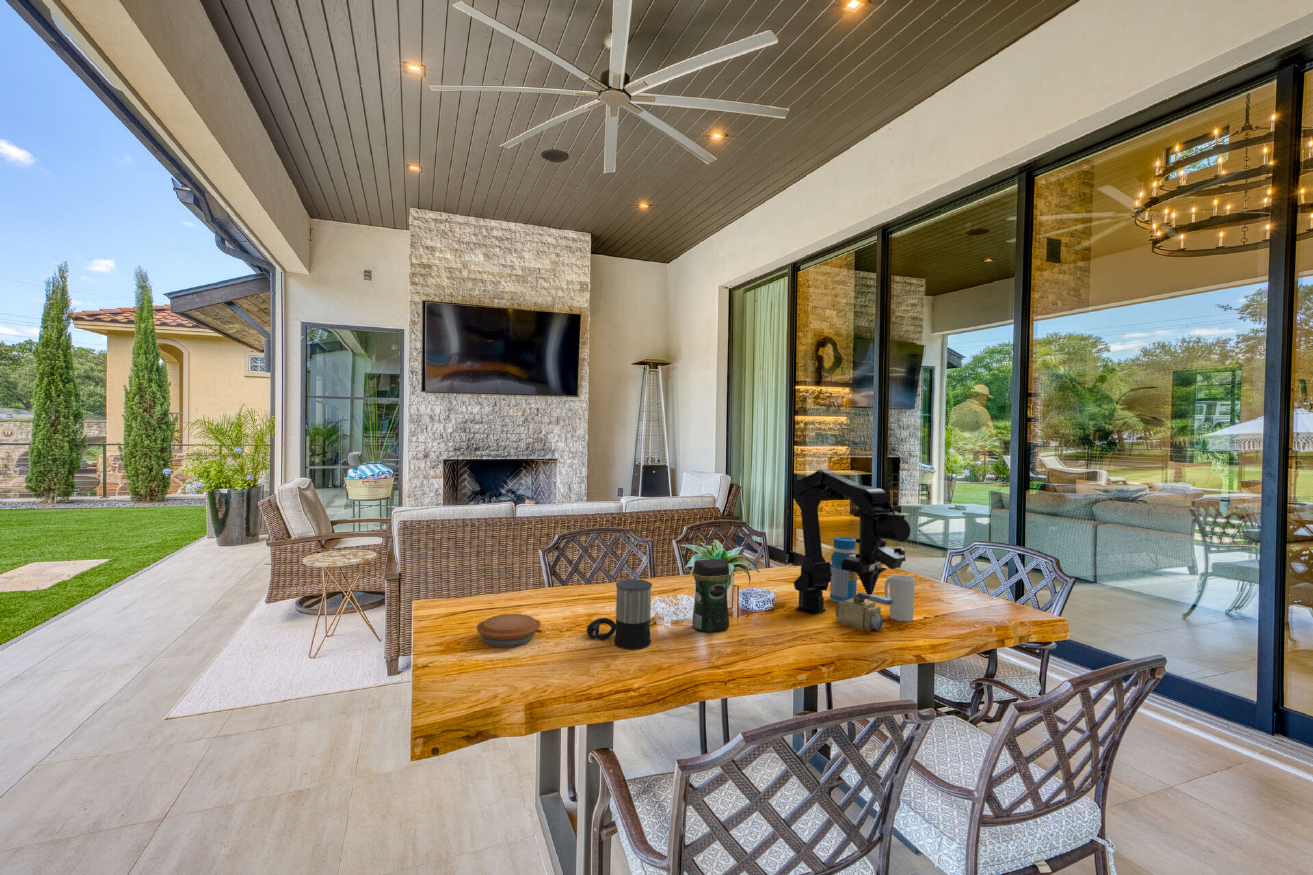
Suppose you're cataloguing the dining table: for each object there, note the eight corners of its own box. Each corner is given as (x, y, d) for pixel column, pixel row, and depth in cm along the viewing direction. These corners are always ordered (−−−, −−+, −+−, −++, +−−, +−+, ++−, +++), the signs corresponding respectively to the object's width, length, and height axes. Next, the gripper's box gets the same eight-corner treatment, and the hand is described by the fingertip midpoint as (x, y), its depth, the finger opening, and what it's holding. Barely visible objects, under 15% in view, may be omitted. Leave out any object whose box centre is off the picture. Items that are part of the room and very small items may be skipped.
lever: (887, 609, 152) (887, 600, 152) (851, 599, 161) (851, 591, 161) (893, 608, 154) (894, 599, 154) (857, 598, 163) (858, 589, 163)
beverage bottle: (831, 603, 181) (832, 540, 181) (827, 596, 190) (829, 535, 190) (859, 605, 180) (860, 541, 180) (854, 597, 188) (855, 537, 188)
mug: (919, 620, 165) (920, 579, 165) (901, 623, 163) (902, 581, 163) (893, 610, 175) (894, 571, 175) (875, 612, 172) (876, 572, 172)
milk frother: (653, 649, 138) (655, 588, 138) (587, 651, 136) (589, 589, 136) (645, 629, 152) (647, 574, 152) (585, 631, 150) (587, 574, 150)
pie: (517, 655, 133) (517, 633, 133) (462, 645, 138) (463, 624, 138) (552, 634, 147) (552, 614, 147) (501, 626, 153) (501, 607, 153)
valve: (833, 620, 163) (834, 598, 163) (845, 617, 167) (846, 594, 167) (873, 632, 154) (873, 608, 154) (884, 628, 158) (885, 604, 158)
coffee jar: (719, 621, 160) (720, 555, 160) (733, 630, 153) (734, 561, 153) (687, 624, 157) (689, 557, 157) (700, 634, 150) (702, 563, 150)
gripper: (879, 543, 141) (878, 607, 141) (917, 537, 152) (916, 595, 152) (840, 537, 149) (838, 596, 149) (878, 531, 161) (877, 586, 161)
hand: (869, 594), depth 153 cm, fingers closed
